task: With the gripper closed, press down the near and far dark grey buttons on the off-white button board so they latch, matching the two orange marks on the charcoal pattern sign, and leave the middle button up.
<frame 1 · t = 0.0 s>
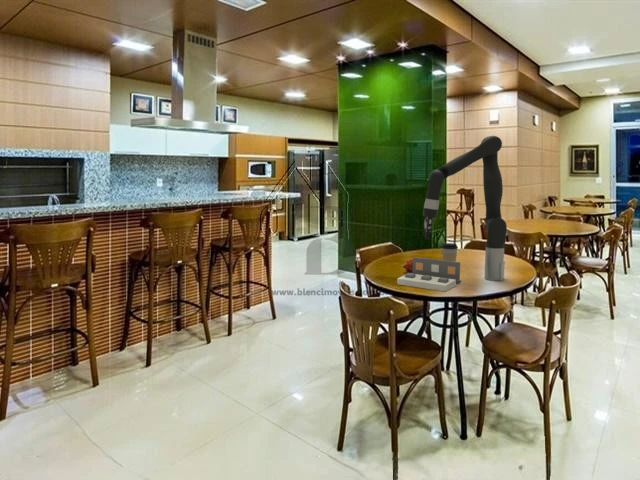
hand: (426, 237, 241), 22 cm above the table, tool pointing down, fingers open, 8 cm apart
button near: (443, 281, 224), point 3 cm above the table, slide at 0.0 cm
pattern sign: (435, 279, 240), on the table
coffee cup: (448, 269, 264), on the table
button middle: (426, 279, 230), point 3 cm above the table, slide at 0.0 cm
button far: (410, 276, 235), point 3 cm above the table, slide at 0.0 cm
dragon fruit: (413, 273, 257), on the table
button board: (426, 284, 230), on the table
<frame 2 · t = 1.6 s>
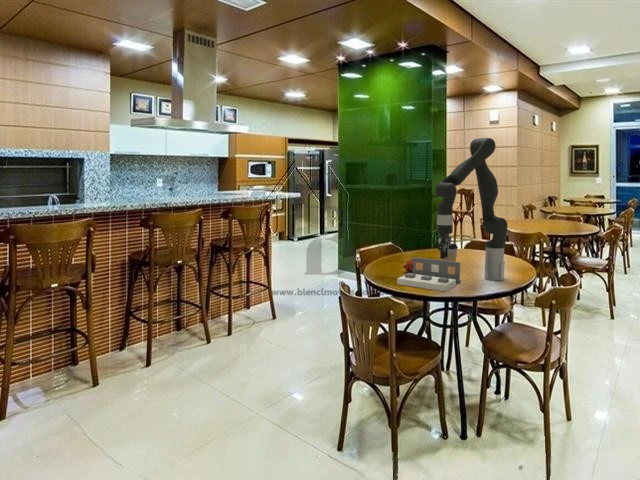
hand: (443, 257, 223), 15 cm above the table, tool pointing down, fingers open, 3 cm apart
nothing on the table moved.
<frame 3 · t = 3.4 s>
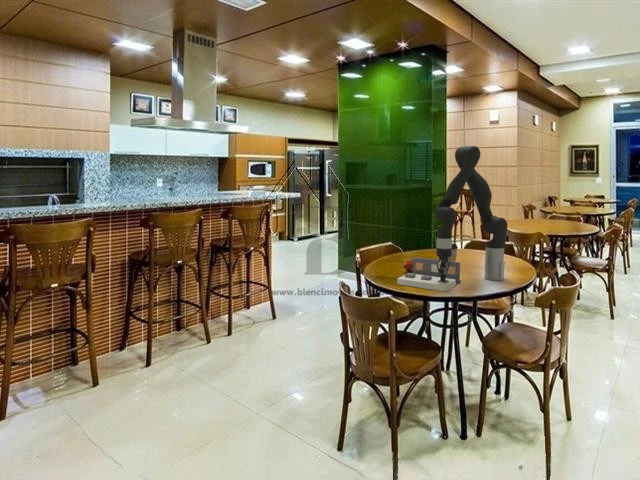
hand: (443, 280, 224), 3 cm above the table, tool pointing down, fingers closed
button near: (443, 283, 225), point 2 cm above the table, slide at 1.2 cm, touching gripper
everything else where it was.
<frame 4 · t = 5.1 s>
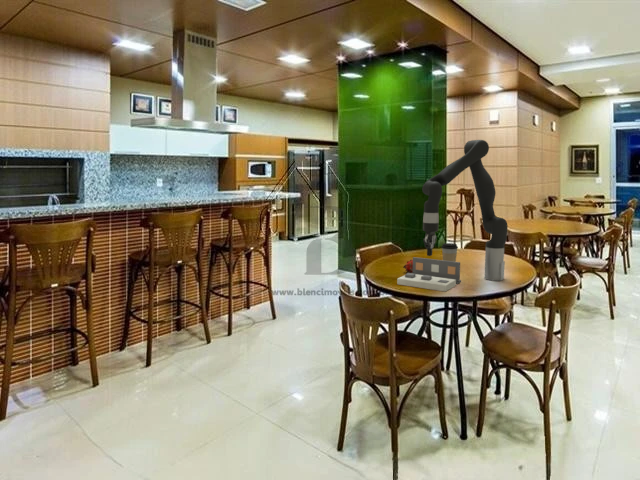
hand: (429, 255, 226), 16 cm above the table, tool pointing down, fingers closed
button near: (443, 283, 225), point 2 cm above the table, slide at 1.3 cm
everything else where it was.
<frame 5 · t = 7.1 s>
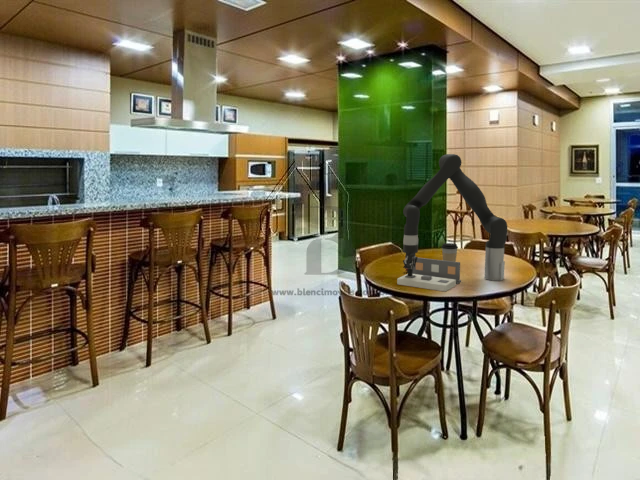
hand: (410, 275, 235), 4 cm above the table, tool pointing down, fingers closed
button far: (410, 278, 235), point 2 cm above the table, slide at 0.9 cm, touching gripper
everything else where it was.
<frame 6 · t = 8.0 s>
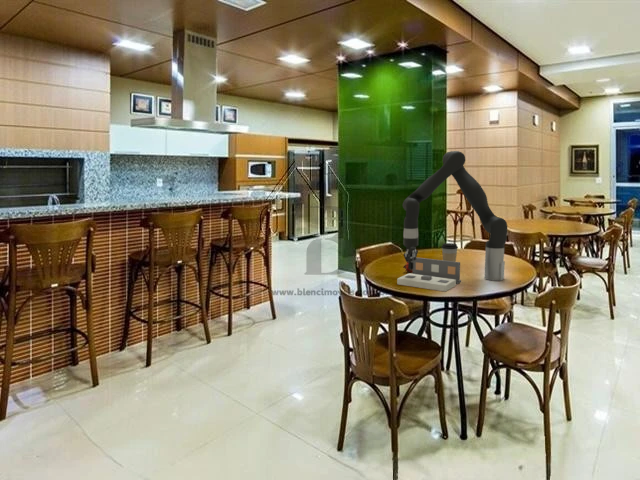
hand: (410, 269, 234), 7 cm above the table, tool pointing down, fingers closed
button far: (410, 279, 235), point 2 cm above the table, slide at 1.3 cm
everything else where it was.
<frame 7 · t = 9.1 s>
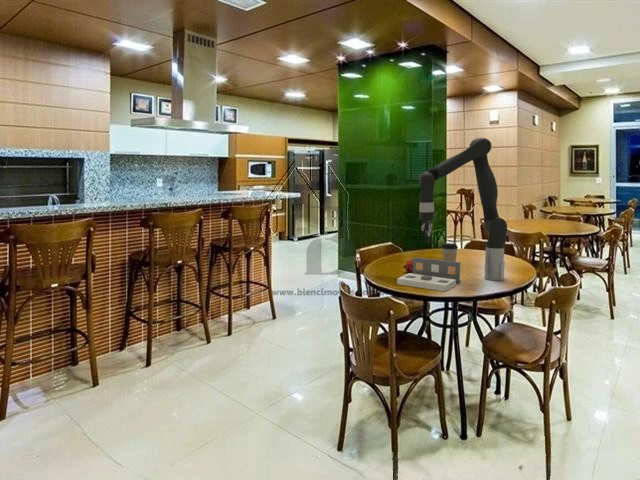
hand: (427, 243, 238), 20 cm above the table, tool pointing down, fingers closed
nothing on the table moved.
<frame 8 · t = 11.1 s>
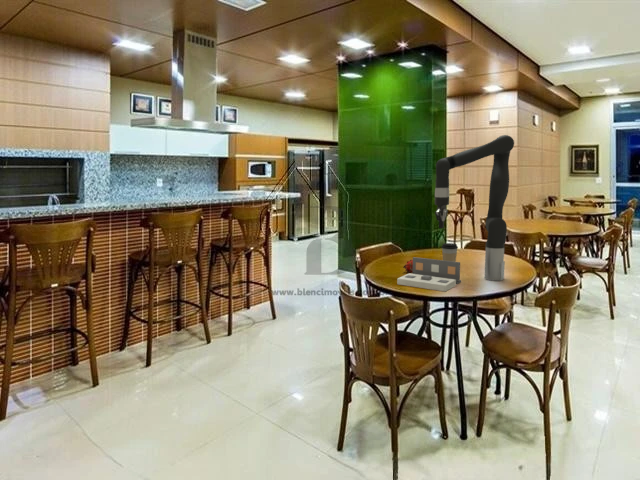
hand: (441, 228, 243), 27 cm above the table, tool pointing down, fingers closed
nothing on the table moved.
at the end: button near slide at 1.3 cm; button far slide at 1.3 cm; button middle slide at 0.0 cm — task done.
